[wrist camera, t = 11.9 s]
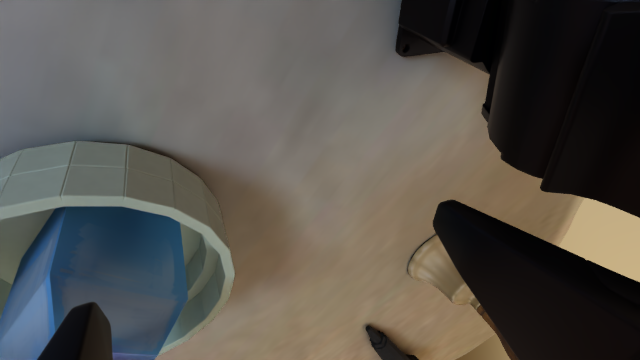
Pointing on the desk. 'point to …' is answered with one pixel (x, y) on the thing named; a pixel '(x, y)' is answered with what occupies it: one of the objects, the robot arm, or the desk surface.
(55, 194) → the bowl
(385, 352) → the microphone
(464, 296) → the hand bell
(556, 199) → the desk surface
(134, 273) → the perfume bottle
